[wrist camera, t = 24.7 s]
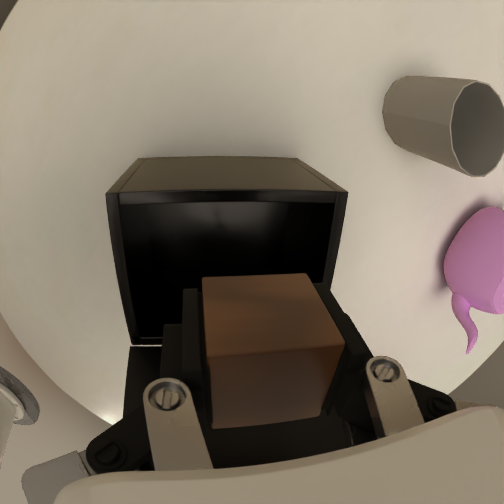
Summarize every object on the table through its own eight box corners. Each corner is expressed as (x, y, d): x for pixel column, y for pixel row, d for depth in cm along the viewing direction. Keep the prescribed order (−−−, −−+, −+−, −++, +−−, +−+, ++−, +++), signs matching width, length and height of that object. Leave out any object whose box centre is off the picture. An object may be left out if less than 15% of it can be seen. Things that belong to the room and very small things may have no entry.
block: (205, 353, 13) (212, 429, 9) (201, 276, 11) (206, 355, 8) (293, 346, 13) (319, 416, 10) (306, 272, 12) (346, 342, 8)
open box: (137, 158, 26) (104, 193, 16) (297, 158, 28) (348, 191, 19) (146, 271, 31) (131, 345, 22) (286, 267, 34) (319, 334, 24)
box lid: (120, 512, 11) (141, 522, 14) (378, 481, 13) (350, 498, 16) (129, 346, 21) (142, 382, 24) (323, 335, 24) (310, 371, 26)
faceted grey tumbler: (449, 102, 27) (515, 115, 19) (426, 162, 30) (488, 191, 22) (397, 62, 25) (466, 60, 16) (371, 129, 28) (436, 149, 19)
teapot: (487, 173, 32) (551, 206, 22) (511, 226, 38) (561, 260, 27) (402, 286, 38) (453, 343, 28) (440, 319, 43) (480, 367, 33)
